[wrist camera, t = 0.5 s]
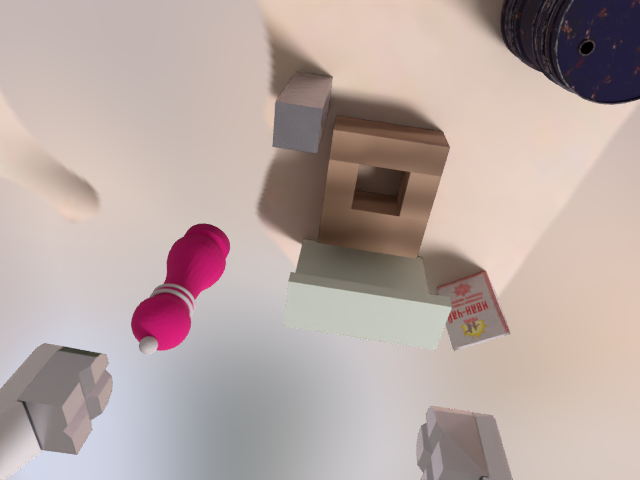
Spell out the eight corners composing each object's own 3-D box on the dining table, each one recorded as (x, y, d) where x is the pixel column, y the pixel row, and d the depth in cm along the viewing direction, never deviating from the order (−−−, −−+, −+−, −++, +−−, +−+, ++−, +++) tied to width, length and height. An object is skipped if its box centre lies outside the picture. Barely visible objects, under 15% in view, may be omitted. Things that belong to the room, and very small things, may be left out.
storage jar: (608, -73, 38) (728, -91, 25) (614, 42, 42) (718, 75, 30) (489, -23, 40) (544, -17, 28) (507, 80, 45) (561, 125, 32)
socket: (336, 115, 49) (333, 129, 44) (442, 131, 48) (449, 147, 44) (321, 222, 56) (317, 243, 52) (413, 236, 56) (416, 258, 52)
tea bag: (494, 290, 59) (515, 343, 51) (446, 305, 62) (459, 359, 53) (485, 270, 58) (505, 322, 49) (437, 287, 60) (448, 340, 52)
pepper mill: (171, 233, 59) (93, 339, 43) (211, 211, 57) (145, 315, 40) (204, 271, 62) (143, 384, 46) (244, 251, 60) (195, 364, 43)
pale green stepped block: (307, 206, 55) (288, 281, 42) (432, 225, 55) (452, 307, 42) (302, 245, 58) (283, 326, 45) (420, 263, 58) (435, 350, 45)
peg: (295, 71, 46) (275, 101, 36) (332, 77, 46) (322, 108, 36) (292, 108, 49) (272, 146, 39) (327, 114, 49) (316, 153, 38)
